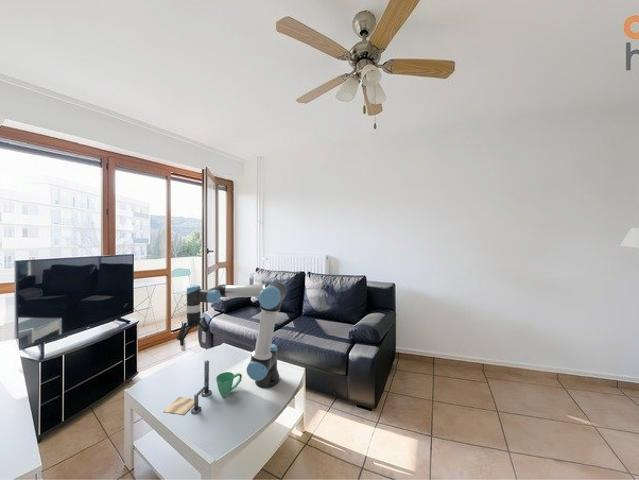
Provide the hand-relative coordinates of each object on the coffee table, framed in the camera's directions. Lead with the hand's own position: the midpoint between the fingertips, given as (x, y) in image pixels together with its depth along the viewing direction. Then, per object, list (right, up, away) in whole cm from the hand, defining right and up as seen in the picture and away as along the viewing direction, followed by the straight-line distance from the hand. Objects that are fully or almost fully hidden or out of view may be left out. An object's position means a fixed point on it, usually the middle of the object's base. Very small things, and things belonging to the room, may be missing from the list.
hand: (194, 346), depth 157 cm
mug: (+23, -25, -4) cm, 34 cm away
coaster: (+2, -25, -17) cm, 30 cm away
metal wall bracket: (+11, -25, -13) cm, 31 cm away
